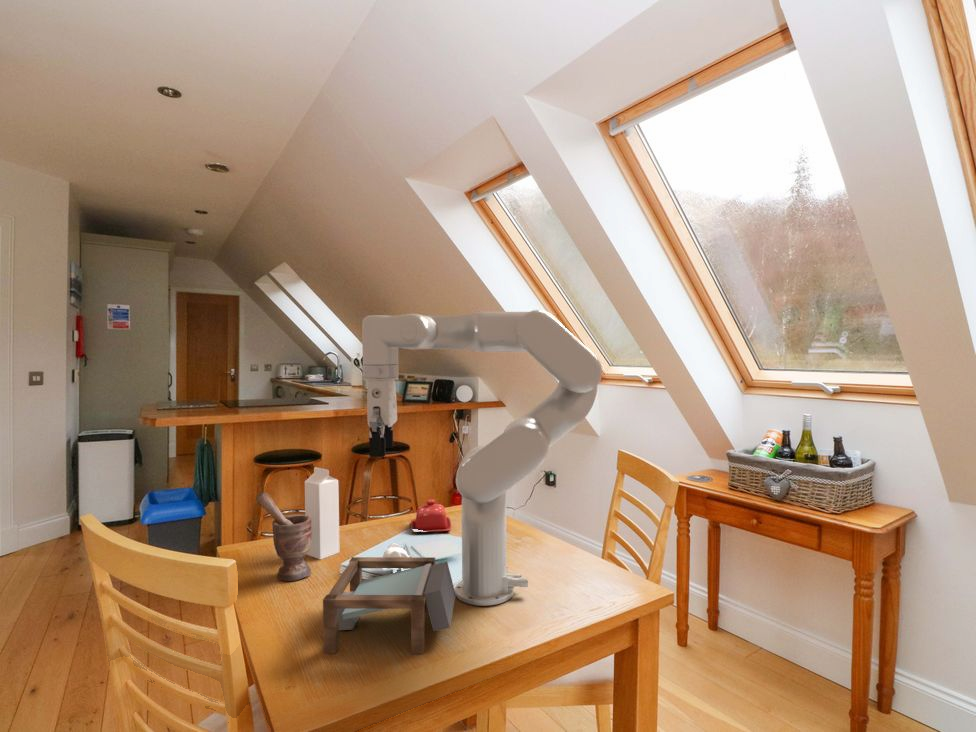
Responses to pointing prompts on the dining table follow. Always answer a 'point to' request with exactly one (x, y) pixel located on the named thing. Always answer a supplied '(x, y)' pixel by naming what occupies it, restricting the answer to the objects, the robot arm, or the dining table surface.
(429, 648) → the dining table surface
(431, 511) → the butter dish
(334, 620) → the frame
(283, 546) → the mortar and pestle
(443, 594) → the trapdoor
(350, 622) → the gray cube
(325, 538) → the milk
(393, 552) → the elephant figurine
